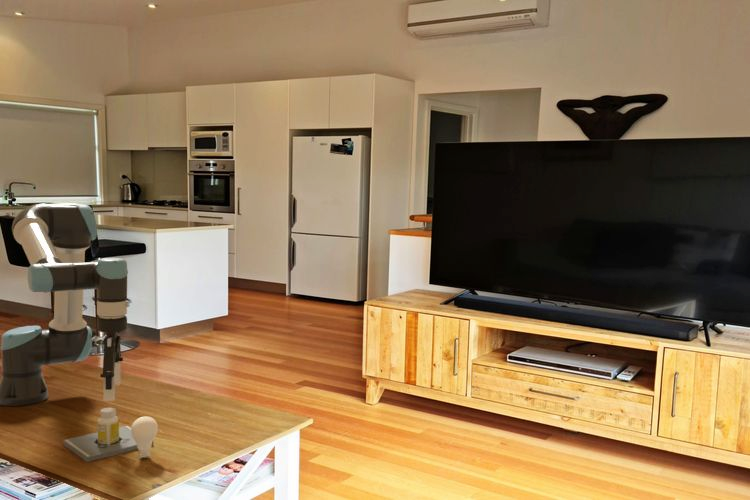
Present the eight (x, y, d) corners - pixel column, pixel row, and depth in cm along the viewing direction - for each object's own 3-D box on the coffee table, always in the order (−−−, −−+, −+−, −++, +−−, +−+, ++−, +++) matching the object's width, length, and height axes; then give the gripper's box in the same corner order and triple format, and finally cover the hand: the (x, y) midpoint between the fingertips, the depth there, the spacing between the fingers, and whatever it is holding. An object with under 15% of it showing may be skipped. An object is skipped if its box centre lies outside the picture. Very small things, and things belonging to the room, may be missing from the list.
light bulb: (134, 453, 180) (134, 412, 179) (160, 453, 180) (160, 412, 179) (127, 463, 173) (127, 421, 172) (154, 463, 174) (154, 421, 173)
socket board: (63, 444, 185) (62, 439, 184) (127, 429, 197) (127, 425, 197) (87, 462, 173) (87, 457, 173) (153, 445, 186) (153, 440, 186)
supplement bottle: (119, 440, 189) (119, 405, 188) (118, 447, 184) (118, 412, 183) (98, 442, 187) (98, 407, 186) (97, 449, 182) (96, 413, 181)
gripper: (122, 325, 172) (122, 407, 174) (131, 306, 196) (131, 378, 198) (90, 326, 170) (90, 408, 172) (103, 307, 194) (103, 379, 196)
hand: (112, 392), depth 185 cm, fingers open, 13 cm apart
